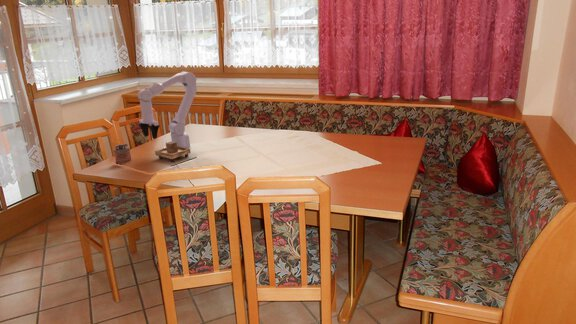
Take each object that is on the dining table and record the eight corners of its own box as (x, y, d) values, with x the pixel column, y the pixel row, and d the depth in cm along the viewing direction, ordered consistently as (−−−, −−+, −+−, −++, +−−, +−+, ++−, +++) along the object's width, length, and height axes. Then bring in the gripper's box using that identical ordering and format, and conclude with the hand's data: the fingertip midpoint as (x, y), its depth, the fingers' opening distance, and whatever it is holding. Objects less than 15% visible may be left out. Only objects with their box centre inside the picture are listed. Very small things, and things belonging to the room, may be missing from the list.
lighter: (115, 164, 229) (112, 146, 225) (116, 162, 232) (112, 144, 229) (131, 162, 231) (128, 144, 227) (132, 160, 234) (129, 142, 231)
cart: (174, 152, 240) (173, 145, 238) (191, 156, 231) (190, 148, 230) (156, 158, 231) (154, 151, 230) (172, 162, 222) (171, 154, 221)
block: (173, 150, 233) (172, 141, 231) (178, 151, 230) (176, 142, 229) (167, 152, 230) (165, 143, 228) (171, 153, 227) (170, 144, 226)
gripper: (132, 112, 234) (136, 137, 238) (148, 115, 225) (152, 140, 230) (144, 110, 239) (147, 134, 244) (160, 112, 231) (163, 137, 235)
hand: (150, 137), depth 237 cm, fingers open, 7 cm apart
